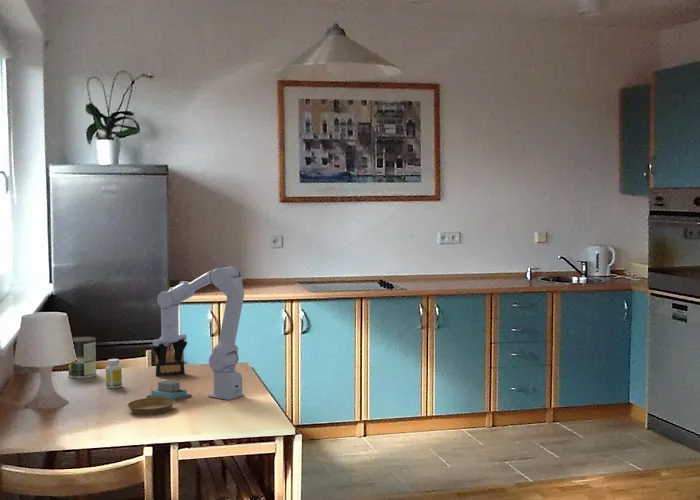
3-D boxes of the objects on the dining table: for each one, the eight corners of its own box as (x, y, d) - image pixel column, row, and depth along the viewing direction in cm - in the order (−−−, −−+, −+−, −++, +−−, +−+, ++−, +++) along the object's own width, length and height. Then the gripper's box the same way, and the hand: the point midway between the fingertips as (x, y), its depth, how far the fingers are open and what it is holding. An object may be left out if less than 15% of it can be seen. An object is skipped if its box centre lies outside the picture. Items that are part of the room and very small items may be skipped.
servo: (187, 396, 288) (186, 381, 288) (178, 399, 285) (178, 383, 284) (164, 392, 294) (164, 378, 293) (155, 395, 290) (155, 380, 290)
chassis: (191, 396, 290) (191, 389, 290) (172, 402, 283) (172, 395, 282) (166, 392, 297) (165, 385, 297) (146, 397, 289) (146, 390, 289)
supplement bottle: (124, 385, 308) (123, 358, 307) (118, 388, 303) (117, 361, 302) (109, 385, 309) (108, 358, 308) (103, 388, 303) (103, 361, 302)
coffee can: (70, 379, 318) (69, 342, 317) (66, 374, 327) (65, 337, 326) (98, 376, 322) (97, 339, 321) (94, 371, 332) (93, 335, 331)
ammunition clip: (156, 376, 323) (155, 345, 322) (155, 375, 324) (155, 344, 324) (184, 374, 326) (184, 343, 325) (184, 373, 327) (183, 342, 327)
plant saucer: (127, 418, 264) (127, 410, 263) (127, 407, 278) (127, 399, 278) (176, 415, 268) (176, 406, 267) (173, 403, 282) (173, 395, 282)
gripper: (175, 321, 307) (176, 358, 308) (146, 326, 295) (146, 365, 296) (190, 322, 303) (191, 360, 304) (160, 328, 291) (161, 368, 292)
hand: (170, 363), depth 300 cm, fingers open, 7 cm apart
